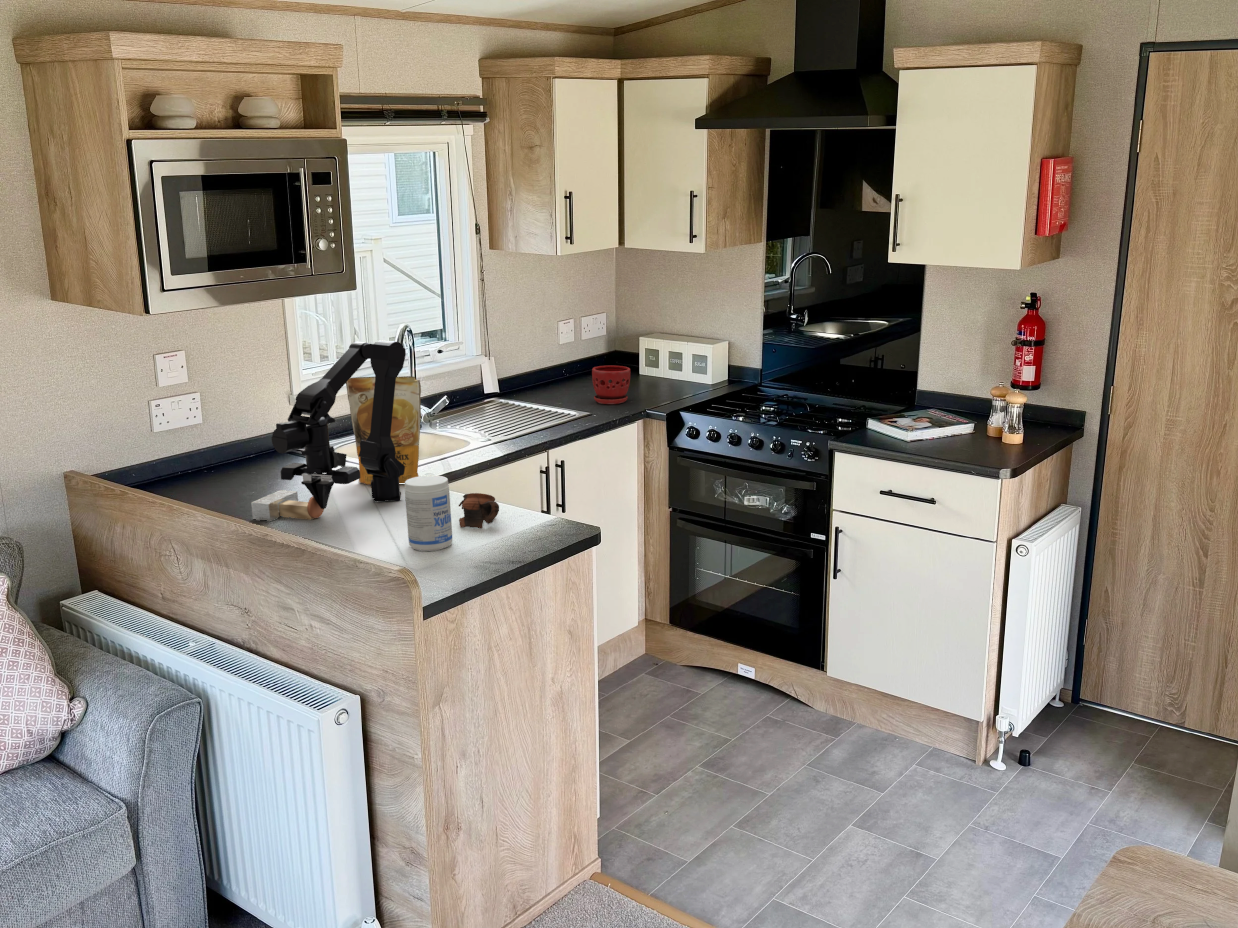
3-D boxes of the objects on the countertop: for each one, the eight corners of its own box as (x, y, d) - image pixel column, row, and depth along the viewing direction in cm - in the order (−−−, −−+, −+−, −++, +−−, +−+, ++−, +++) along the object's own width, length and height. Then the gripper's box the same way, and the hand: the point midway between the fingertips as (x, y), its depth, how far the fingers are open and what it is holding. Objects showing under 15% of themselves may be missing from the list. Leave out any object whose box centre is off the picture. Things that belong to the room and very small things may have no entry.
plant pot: (610, 407, 385) (609, 372, 382) (585, 402, 394) (584, 368, 391) (639, 401, 393) (638, 367, 390) (613, 396, 403) (612, 363, 400)
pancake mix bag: (358, 478, 305) (348, 375, 298) (428, 478, 304) (420, 374, 297) (351, 485, 299) (341, 380, 292) (422, 484, 297) (414, 379, 290)
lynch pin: (325, 514, 274) (323, 493, 272) (312, 521, 269) (309, 499, 268) (290, 511, 277) (288, 490, 276) (277, 517, 273) (274, 496, 271)
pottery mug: (447, 528, 262) (451, 493, 265) (477, 536, 269) (481, 502, 271) (484, 523, 255) (487, 487, 257) (514, 532, 262) (517, 497, 264)
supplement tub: (445, 553, 244) (440, 486, 240) (402, 552, 245) (397, 486, 242) (458, 538, 253) (454, 474, 249) (417, 537, 255) (412, 474, 251)
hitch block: (299, 508, 280) (297, 491, 279) (270, 521, 270) (268, 504, 269) (282, 506, 282) (280, 490, 281) (253, 519, 272) (251, 502, 271)
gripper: (370, 438, 270) (376, 501, 274) (304, 434, 277) (310, 496, 281) (343, 449, 260) (349, 515, 264) (275, 445, 267) (282, 509, 271)
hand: (323, 508), depth 270 cm, fingers closed
